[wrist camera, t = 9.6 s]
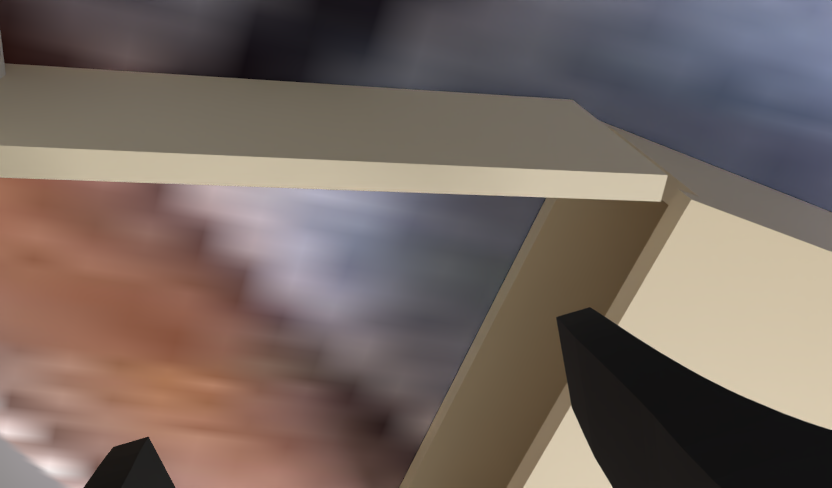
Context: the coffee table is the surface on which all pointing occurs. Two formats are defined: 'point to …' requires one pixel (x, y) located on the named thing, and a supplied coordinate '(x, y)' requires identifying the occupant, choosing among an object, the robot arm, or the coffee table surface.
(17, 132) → the cream block
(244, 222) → the coffee table surface
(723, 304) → the carton
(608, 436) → the robot arm
